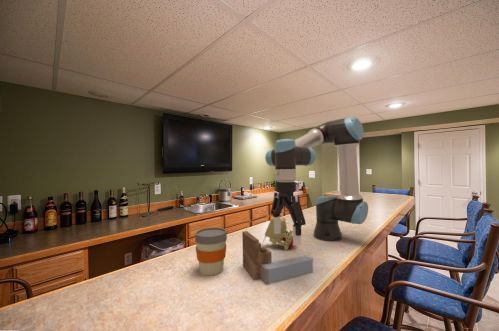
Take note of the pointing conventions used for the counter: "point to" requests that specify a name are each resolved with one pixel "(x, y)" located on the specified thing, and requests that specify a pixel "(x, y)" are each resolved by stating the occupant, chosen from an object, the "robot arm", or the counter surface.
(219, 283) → the counter surface
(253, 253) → the wooden bracket with knobs
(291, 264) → the rail
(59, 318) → the counter surface
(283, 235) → the mechanical component
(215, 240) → the reusable coffee cup
